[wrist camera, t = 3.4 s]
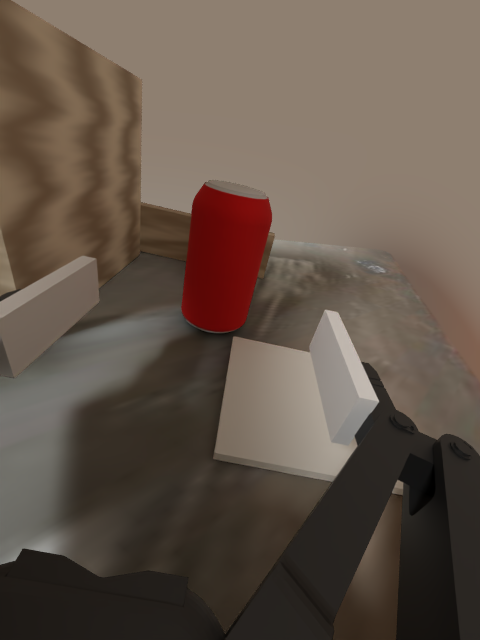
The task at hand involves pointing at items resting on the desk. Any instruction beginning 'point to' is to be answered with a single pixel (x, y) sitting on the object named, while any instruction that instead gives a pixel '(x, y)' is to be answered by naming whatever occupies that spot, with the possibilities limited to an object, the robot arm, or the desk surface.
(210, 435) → the desk surface
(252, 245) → the beverage can
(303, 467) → the felt pad
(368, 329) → the desk surface
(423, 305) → the desk surface
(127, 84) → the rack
